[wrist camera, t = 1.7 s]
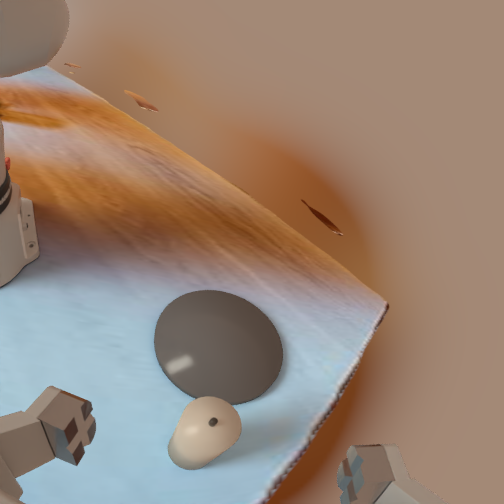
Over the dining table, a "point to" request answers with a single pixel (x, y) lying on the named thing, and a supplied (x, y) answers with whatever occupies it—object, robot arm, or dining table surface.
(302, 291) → the dining table surface
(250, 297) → the dining table surface
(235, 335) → the plate
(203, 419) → the candle
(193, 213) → the dining table surface
